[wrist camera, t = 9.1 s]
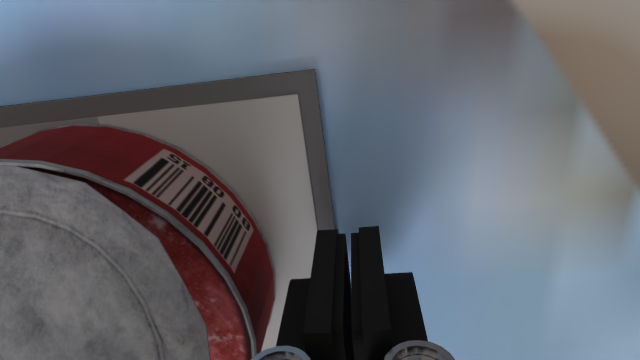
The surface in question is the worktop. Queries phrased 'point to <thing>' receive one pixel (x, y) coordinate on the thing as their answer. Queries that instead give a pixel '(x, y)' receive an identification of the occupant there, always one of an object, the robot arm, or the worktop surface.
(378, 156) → the worktop surface
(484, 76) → the worktop surface
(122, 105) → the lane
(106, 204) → the canned food
